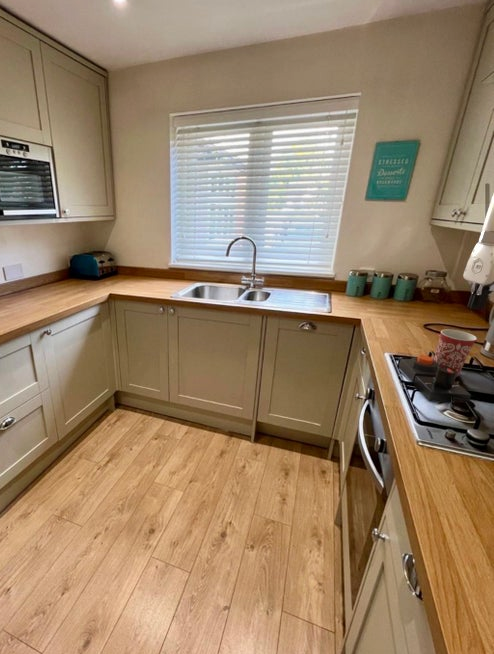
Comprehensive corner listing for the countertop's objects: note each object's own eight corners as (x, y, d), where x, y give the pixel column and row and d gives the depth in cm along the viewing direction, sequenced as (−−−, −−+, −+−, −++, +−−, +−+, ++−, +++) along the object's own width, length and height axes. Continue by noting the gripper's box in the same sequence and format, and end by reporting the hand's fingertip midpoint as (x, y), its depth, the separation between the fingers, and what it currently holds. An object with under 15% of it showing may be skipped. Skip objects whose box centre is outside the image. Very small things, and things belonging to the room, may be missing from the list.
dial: (429, 380, 97) (435, 364, 95) (446, 381, 97) (452, 365, 95) (437, 388, 93) (443, 371, 91) (455, 389, 93) (461, 373, 91)
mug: (466, 381, 103) (481, 342, 98) (431, 375, 106) (444, 336, 101) (455, 364, 113) (468, 328, 108) (424, 359, 117) (435, 324, 112)
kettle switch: (428, 360, 106) (429, 355, 105) (434, 366, 102) (436, 361, 102) (414, 359, 107) (416, 354, 106) (420, 365, 103) (422, 360, 102)
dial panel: (448, 387, 100) (452, 378, 98) (467, 404, 91) (471, 394, 90) (413, 384, 101) (415, 375, 100) (428, 400, 93) (431, 391, 92)
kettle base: (427, 369, 110) (431, 355, 108) (444, 384, 101) (449, 370, 99) (398, 367, 111) (402, 353, 110) (412, 382, 102) (417, 367, 100)
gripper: (463, 236, 91) (444, 300, 98) (503, 241, 77) (478, 316, 84) (494, 236, 90) (472, 301, 97) (540, 241, 76) (511, 317, 83)
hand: (475, 308), depth 90 cm, fingers closed
